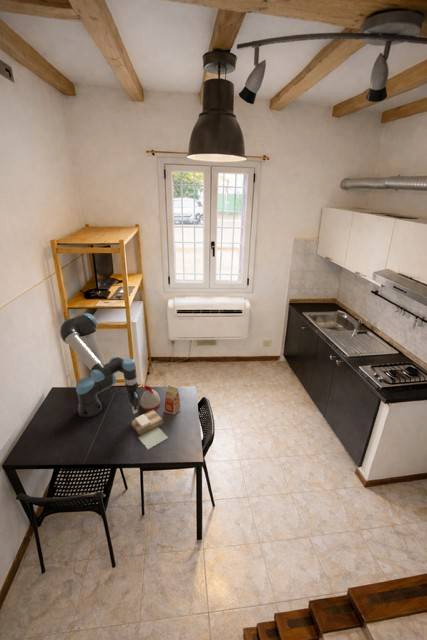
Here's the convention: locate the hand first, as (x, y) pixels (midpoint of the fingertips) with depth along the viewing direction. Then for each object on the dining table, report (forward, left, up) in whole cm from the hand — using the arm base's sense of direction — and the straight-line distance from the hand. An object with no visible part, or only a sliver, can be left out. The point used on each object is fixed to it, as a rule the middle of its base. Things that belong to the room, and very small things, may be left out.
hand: (135, 412), depth 204 cm
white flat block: (+10, 0, -1) cm, 10 cm away
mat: (+22, 0, -5) cm, 23 cm away
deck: (+10, +3, -5) cm, 12 cm away
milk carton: (+8, +24, -6) cm, 26 cm away
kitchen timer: (-7, +15, -6) cm, 18 cm away
